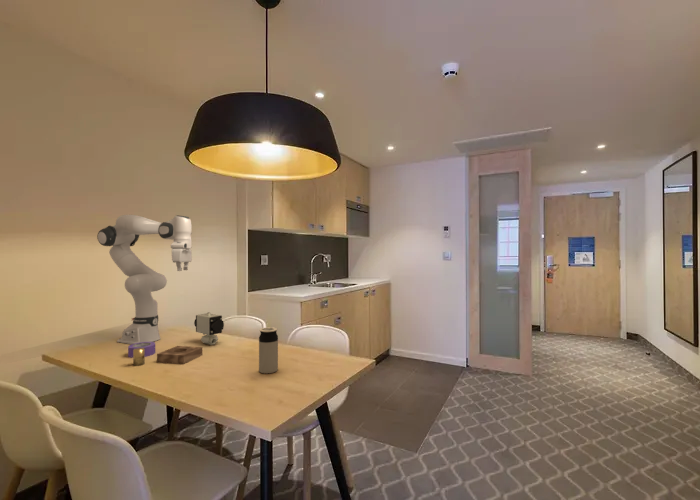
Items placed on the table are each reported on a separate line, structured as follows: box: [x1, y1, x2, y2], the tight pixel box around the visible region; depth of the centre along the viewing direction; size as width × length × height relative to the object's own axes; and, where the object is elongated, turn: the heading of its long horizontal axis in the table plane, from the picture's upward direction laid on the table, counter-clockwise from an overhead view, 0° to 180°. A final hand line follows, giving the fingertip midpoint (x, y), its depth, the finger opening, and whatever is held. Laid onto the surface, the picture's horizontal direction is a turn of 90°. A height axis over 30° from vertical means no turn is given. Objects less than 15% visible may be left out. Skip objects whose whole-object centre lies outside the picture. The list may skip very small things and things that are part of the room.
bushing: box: [132, 348, 146, 367], centre depth 154 cm, size 4×4×7 cm
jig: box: [156, 345, 203, 365], centre depth 163 cm, size 14×14×4 cm
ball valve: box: [193, 311, 225, 346], centre depth 190 cm, size 18×8×18 cm, turn 56°
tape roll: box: [127, 341, 156, 359], centre depth 170 cm, size 12×12×5 cm
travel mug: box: [258, 326, 279, 375], centre depth 146 cm, size 8×8×18 cm
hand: (182, 270), depth 183 cm, fingers open, 8 cm apart
